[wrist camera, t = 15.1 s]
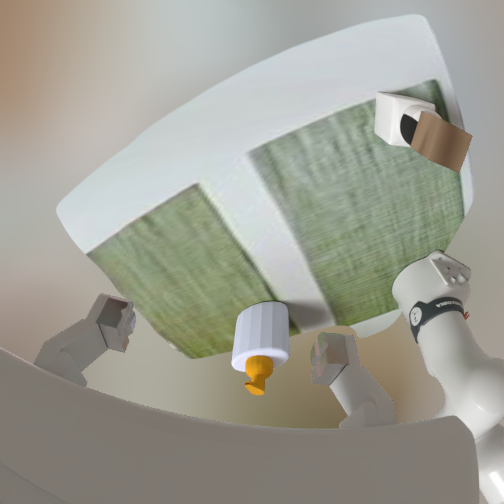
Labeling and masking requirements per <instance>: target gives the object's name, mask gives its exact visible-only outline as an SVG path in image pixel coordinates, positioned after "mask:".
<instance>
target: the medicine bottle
mask: <svg viewBox="0 0 504 504" xmlns="http://www.w3.org/2000/svg"><path fill="white" fill-rule="evenodd" d="M421 111H424V112H426V113H428V114H431V115H433V116H435V117H438V118H440V119H442V118H441V117H440V116H439V114H437V113H436V112H435V105H434V104H432V103H429V102H426V101H423V100H420V99H417V98H413V97H408V96H402V95H396V94H390V93H383V92H377V94H376V116H375V131H374V132H375V134H377V135H378V136H379V137H381V138H382V139H383V140H385V141H386V142H387V143H388V144H390V145H396V146H404V147H410V146H411V143H412V140H413V137H414V134H415V130H416V127H417V124H418V121H419V117H420V114H421Z"/></svg>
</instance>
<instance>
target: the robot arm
mask: <svg viewBox="0 0 504 504" xmlns="http://www.w3.org/2000/svg"><path fill="white" fill-rule="evenodd" d="M470 275H471V270H470V268H469V267H467V266H465V265H464V264H462V263H460V262H458V261H457V260H455V259H453V258H451V257H450V256H448V255H446V254H445V253H443V252H441V251H439V250H437V251H434V252H433V253H431V254H430V255H429V256H427V257H426V258H424V259H421V260H418V261H416V262H414V263H412V264H410V265H409V266H407V267H406V268H405V269H404V270H403V271H402V272H401V273H400V274H399V275H398V277H397V278H396V280H395V282H394V284H393V288H392V294H393V297H394V299H395V300H396V301H397V303H398V307H399V310H400V312H401V313H403V314H404V316H405V318H406V320H407V322H408V324H409V325H410V327H411V330H412V333H413V337H414V339H415V341H416V343H418V344H419V347H420V350H421V353H422V356H423V359H424V362H425V365H426V369H427V371H428V373H429V374H430V375H431V376H434V377H436V378H437V379H438V380H439V382H440V384H441V385H442V387H443V389H444V391H445V396H446V402H445V403H444V404H443V406H442V407H441V408H440V409H439V411H438V412H437V414H436V415H435V418H434V419H430V420H424V421H418V422H411V423H404V424H397V421H396V415H395V409H394V404H393V400H392V399H391V398H390V397H389V395H388V394H387V393H386V392H385V391H384V390H383V388H382V387H381V386H380V385H379V384H378V382H377V381H376V380H375V379H374V378H373V377H372V375H371V374H370V373H369V372H368V371H367V370H366V369H365V367H364V366H360V361H359V356H358V351H357V346H356V341H355V337H354V336H353V335H344V334H335V333H324V332H322V333H320V334H319V336H318V341H317V342H316V343H314V345H313V347H312V350H311V363H312V365H313V366H314V368H313V370H312V372H311V373H312V384H320V385H330V387H331V389H332V391H333V392H334V394H335V395H336V397H337V398H338V400H339V402H340V403H341V405H342V406H343V408H344V410H345V411H346V413H347V414H348V417H347V418H346V419H344V420H343V421H342V422H341V423H340V424H339V429H296V428H278V427H277V428H276V427H263V426H253V425H243V424H235V423H228V422H221V421H215V420H209V419H203V418H197V417H191V416H187V415H182V414H177V413H173V412H168V411H163V410H160V409H155V408H152V407H148V406H144V405H140V404H137V403H133V402H130V401H126V400H123V399H120V398H116V397H114V396H110V395H107V394H104V393H101V392H98V391H96V390H93V389H90V388H87V387H86V385H87V380H86V379H85V377H84V376H83V374H82V373H81V371H83V370H84V369H85V368H86V367H87V366H89V365H90V364H91V363H92V362H93V361H94V360H96V359H97V358H98V357H99V356H101V355H102V354H103V353H104V352H105V351H107V350H108V349H112V350H116V351H120V352H125V350H126V348H127V345H128V343H129V338H128V336H129V335H130V334H132V333H133V330H134V328H135V323H136V315H135V313H134V312H133V310H132V309H133V307H134V305H133V301H130V300H126V299H122V298H119V297H115V296H111V295H108V294H104V293H101V294H100V295H99V296H98V297H97V299H96V301H95V302H94V304H93V306H92V308H91V310H90V312H89V313H88V315H87V317H86V319H85V320H84V319H82V320H80V321H78V322H77V323H75V324H74V325H72V326H70V327H68V328H67V329H65V330H64V331H62V332H60V333H59V334H57V335H55V336H54V337H52V338H51V339H49V340H47V341H46V342H44V344H43V346H42V348H41V350H40V352H39V354H38V356H37V358H36V360H35V362H34V364H31V363H29V362H27V361H25V360H23V359H21V358H20V357H18V356H16V355H14V354H12V353H10V352H8V351H7V350H5V349H3V348H1V347H0V504H479V489H480V490H481V492H482V493H483V495H484V497H485V498H486V500H487V502H488V503H489V504H504V427H503V426H502V425H500V424H499V422H500V421H501V420H502V419H503V417H504V360H503V359H500V358H491V357H489V356H488V355H487V354H485V353H484V352H483V351H482V349H481V348H480V347H479V346H478V344H477V343H476V341H475V339H474V337H473V335H472V333H471V331H470V329H469V327H468V325H467V323H466V321H465V320H466V319H467V317H468V316H469V315H468V316H467V317H466V315H467V313H468V312H466V313H465V315H464V309H463V307H464V305H465V303H466V302H467V300H468V298H469V295H470V286H469V284H468V281H469V279H470ZM465 317H466V318H465Z"/></svg>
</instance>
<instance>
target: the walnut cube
mask: <svg viewBox="0 0 504 504" xmlns="http://www.w3.org/2000/svg"><path fill="white" fill-rule="evenodd" d="M471 139H472V135H470V134H468V133H467V132H465V131H463V130H461V129H459V128H458V127H456V126H454V125H452V124H450V123H448V122H446V121H444V120H442V119H440V118H438V117H435V116H433V115H431V114H428V113H426V112H424V111H421V114H420V117H419V121H418V124H417V127H416V130H415V134H414V137H413V140H412V143H411V146H410V147H412V148H413V149H415V150H416V151H417V152H419V153H420V154H421V155H423V156H424V157H425V158H427V159H428V160H430V161H433V162H435V163H437V164H440V165H442V166H444V167H447V168H449V169H451V170H453V171H456V172H458V173H459V172H460V169H461V167H462V164H463V161H464V159H465V156H466V153H467V150H468V148H469V145H470V142H471Z"/></svg>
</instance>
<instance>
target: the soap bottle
mask: <svg viewBox="0 0 504 504" xmlns="http://www.w3.org/2000/svg"><path fill="white" fill-rule="evenodd" d="M288 357H289V318H288V309H287V306H286V305H285V304H283V303H281V302H275V301H270V302H262V303H258V304H255V305H252V306H250V307H248V308H247V309H245V310H244V311H243V312H242V313H241V314H240V315H239V316H238V319H237V324H236V331H235V339H234V347H233V356H232V363H231V364H232V366H233V367H234V369H236V370H239V371H243V372H246V373H247V375H248V376H249V377H251V378H252V382H251V381H247V382H245V387H246V388H247V389H248V390H249V391H250V392H251V393H252V394H254V395H262V394H264V389H265V379H266V378H268V377H269V376H270V375H271V374H272V371H273V368H275V367H278V366H280V365H282V364H283V363H284V362H286V361H287V359H288Z"/></svg>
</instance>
